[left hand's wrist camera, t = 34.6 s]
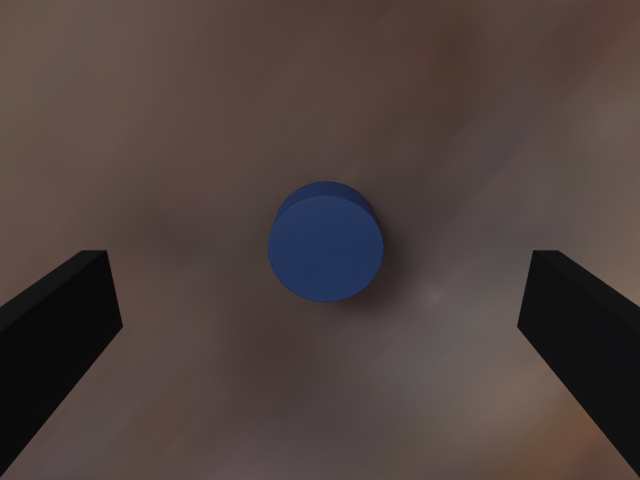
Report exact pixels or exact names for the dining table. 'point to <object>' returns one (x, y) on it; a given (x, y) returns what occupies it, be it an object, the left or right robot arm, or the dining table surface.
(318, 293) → the cap
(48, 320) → the left robot arm
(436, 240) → the dining table surface
